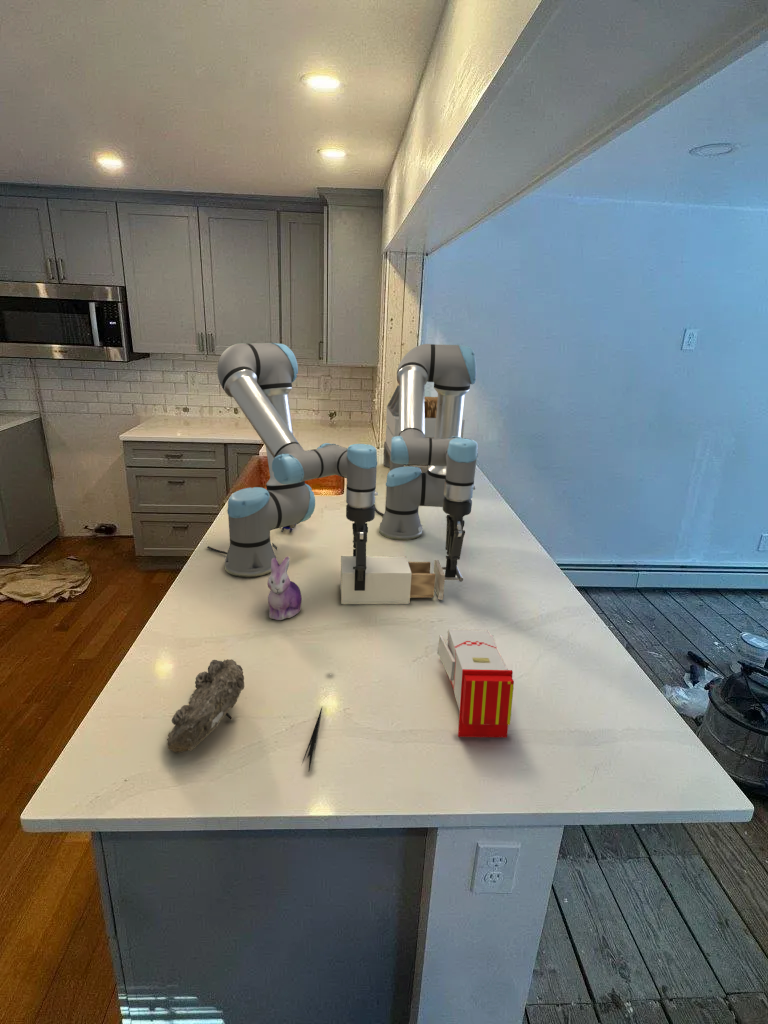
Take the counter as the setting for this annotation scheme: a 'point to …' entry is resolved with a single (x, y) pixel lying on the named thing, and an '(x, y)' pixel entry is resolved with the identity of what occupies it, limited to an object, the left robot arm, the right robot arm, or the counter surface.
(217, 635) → the counter surface
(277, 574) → the figurine
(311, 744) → the feather
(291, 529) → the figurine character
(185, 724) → the fossil
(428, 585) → the drawer
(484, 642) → the toy
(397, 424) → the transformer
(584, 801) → the counter surface
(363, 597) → the cabinet
